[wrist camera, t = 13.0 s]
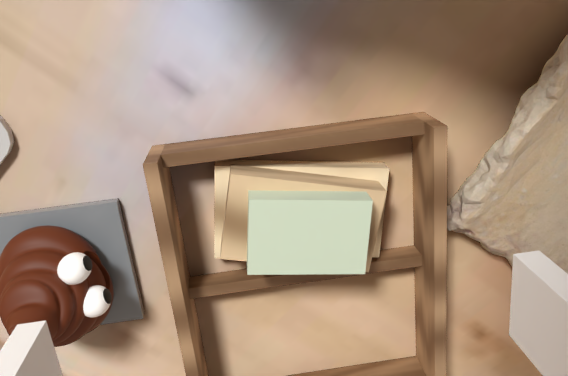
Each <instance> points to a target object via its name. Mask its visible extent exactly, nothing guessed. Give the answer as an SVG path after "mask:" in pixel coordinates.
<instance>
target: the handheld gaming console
mask: <svg viewBox="0 0 568 376" xmlns="http://www.w3.org/2000/svg"><path fill="white" fill-rule="evenodd" d="M13 144H14V138H13V134H12V130H11V129H10V127H9V126H8V124H7V123H6V121H5V120H4V118H3V117H2V116H1V115H0V165H1V164H2V162H3V161H4V160H5V158H6V157H7V156H8V154H9V153H10V152H11V150H12V147H13Z"/></svg>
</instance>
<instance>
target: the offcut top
mask: <svg viewBox="0 0 568 376" xmlns="http://www.w3.org/2000/svg"><path fill="white" fill-rule="evenodd" d="M372 204H373V200H372V199H371V197H370V196H369V195H368V193H367V192H363V191H259V190H248V226H247V275H301V274H365V271H366V261H367V252H368V242H369V233H370V223H371V214H372Z"/></svg>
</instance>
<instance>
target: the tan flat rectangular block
mask: <svg viewBox="0 0 568 376" xmlns="http://www.w3.org/2000/svg"><path fill="white" fill-rule="evenodd" d="M231 164H234V165H243V166H251V167H260V168H269V169H278V170H286V171H295V172H304V173H312V174H321V175H330V176H339V177H347V178H356V179H365V180H374V181H379V183H380V184H381V185H382V186H383V187H384V189H385V190H386V191H387V185H388V177H389V167H388V166H387V165H386V164H385V163H384V162H337V161H269V160H219V161H215V166H214V258H220V253H221V239H222V231H223V223H224V215H225V206H226V198H227V190H228V182H229V174H230V166H231ZM386 194H387V193H386ZM385 202H386V198H385ZM385 202H384V206H383V211H382V215H381V220H380V224H379V229H378V233H377V238H376V242H375V246H374V251H373V255H372V257H379V254H380V245H381V237H382V228H383V220H384V211H385Z"/></svg>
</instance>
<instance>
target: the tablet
mask: <svg viewBox="0 0 568 376" xmlns="http://www.w3.org/2000/svg"><path fill="white" fill-rule="evenodd" d="M447 229H448V230H449V231H451V230H452V231H454V232H457V233H463V234H465V235H467V236H468V237H470V238H472V239H474V240H477V241H479V242H480V243H481V246H482V247H483V248H485V249H486V250H487V251H488V252H490V253H492V254H495V255H500V256H503V257H505V258H506V259H508V260H509V263H510V264H511V266H512V267H513V254H517V253H524V252H531V251H538V250H539V251H541V252H542V253H543V254H544V255H545V256H547V257H548V258H549V259H550V260H552V261H553V262H554V263H555V264H556V265H558V266H559V267H560V268H561V269H563V270H564V271H565V272H566V273H567V274H568V34H567V35H566V37H565V38H564V39H563V41H562V42H561V43H560V45H559V47H558V49H557V51H556V52H555V54H554V55H553V56H552V57H551V58H550V59H549V60H548V61H547V62H546V64H545V65H544V67H543V70H542V73H541V76H540V78H539V80H538V82H537V83H536V84H534V85H533V86H532V87H530V88H528V90H527V91H526V92H525V93H524V94H523V95H522V96H521V98H520V101H519V103H518V105H517V108H516V110H515V114H514V116H513V119H512V122H511V124H510V126H509V128H508V131H507V132H506V133H505V135H504V136H503V137H502V138H501V139H499V140H497V141H496V142H495V143H494V144H493V145H492V146H491V147H490V149H489V150H488V151H487V152H486V154H485V155H484V157H483V158H482V160H481V161H480V163H479V164H478V166H477V168H476V170H475V171H474V173H473V174H471V175H470V176H469V177H468V178H467V179H466V181H465V182H464V183H463V184H462V185H461V187H460V189H459V190H458V192H457V193H456V194H455V195H454V196H453V197H452V198H451V203H450V205H449V206H447Z"/></svg>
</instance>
